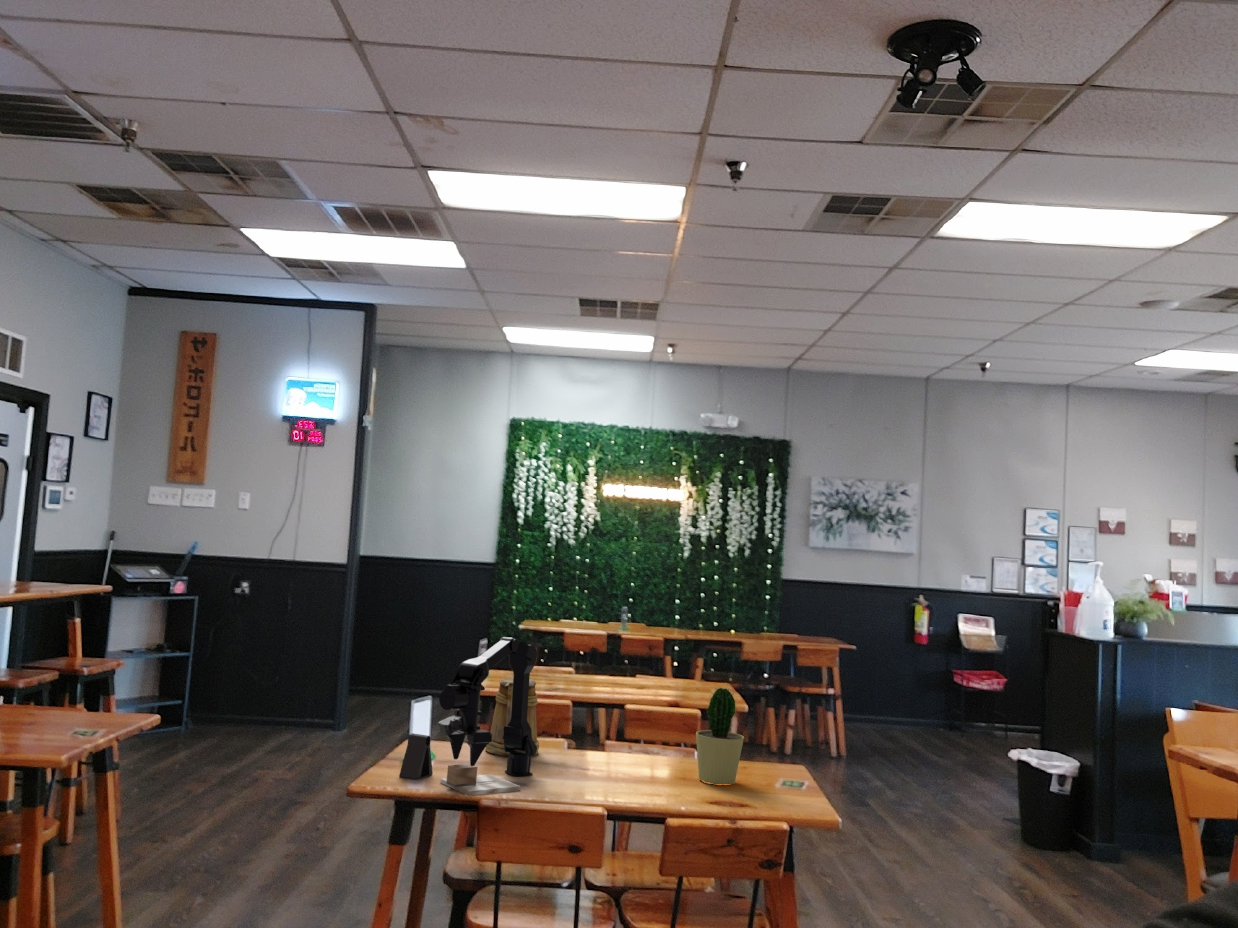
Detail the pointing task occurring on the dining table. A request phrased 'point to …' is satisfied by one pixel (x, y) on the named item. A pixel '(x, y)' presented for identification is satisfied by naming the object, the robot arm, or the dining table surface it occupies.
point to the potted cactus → (719, 742)
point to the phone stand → (417, 758)
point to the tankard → (504, 715)
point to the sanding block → (461, 775)
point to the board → (485, 785)
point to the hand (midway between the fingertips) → (463, 762)
